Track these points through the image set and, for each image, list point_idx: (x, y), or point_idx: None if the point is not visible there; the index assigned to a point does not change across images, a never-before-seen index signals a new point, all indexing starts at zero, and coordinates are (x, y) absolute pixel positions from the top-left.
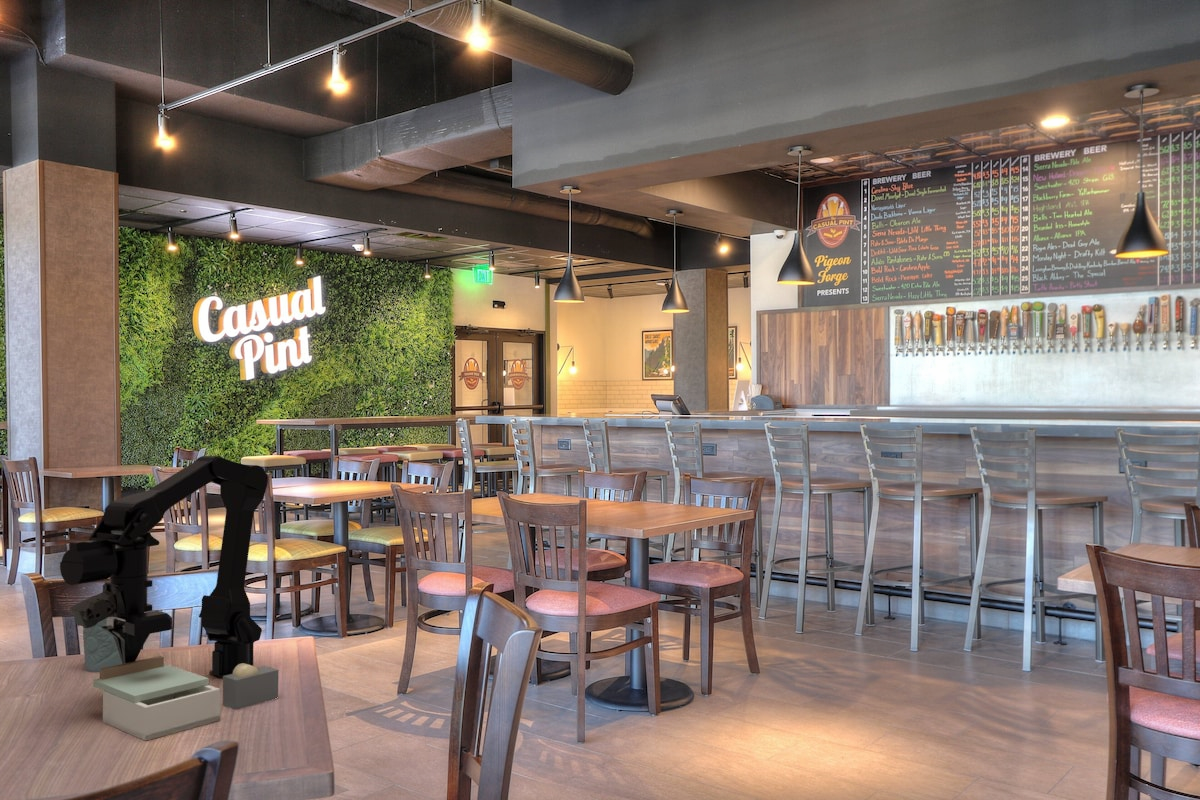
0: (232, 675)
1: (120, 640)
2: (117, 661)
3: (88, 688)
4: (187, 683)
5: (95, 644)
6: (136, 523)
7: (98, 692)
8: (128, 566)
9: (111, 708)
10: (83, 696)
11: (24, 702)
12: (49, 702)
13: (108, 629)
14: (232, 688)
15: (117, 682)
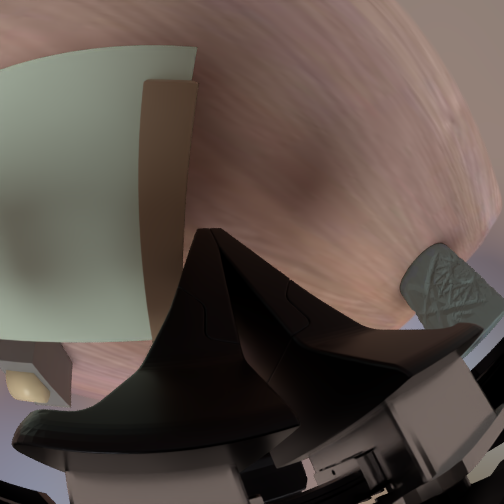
0: (28, 371)
1: (279, 338)
2: (415, 279)
3: (396, 196)
4: None
5: (458, 276)
6: None
7: (364, 192)
8: None
9: None
10: (372, 159)
11: (435, 83)
12: (402, 98)
13: (405, 379)
14: (5, 343)
15: (35, 115)
